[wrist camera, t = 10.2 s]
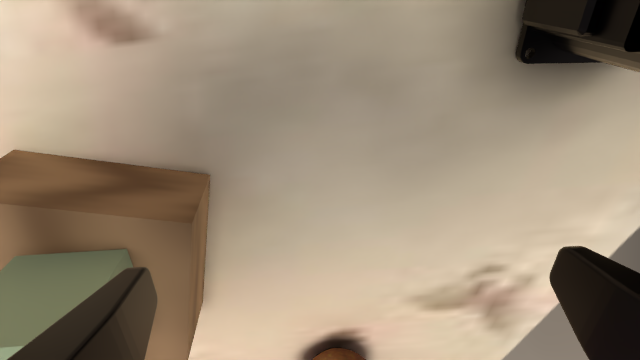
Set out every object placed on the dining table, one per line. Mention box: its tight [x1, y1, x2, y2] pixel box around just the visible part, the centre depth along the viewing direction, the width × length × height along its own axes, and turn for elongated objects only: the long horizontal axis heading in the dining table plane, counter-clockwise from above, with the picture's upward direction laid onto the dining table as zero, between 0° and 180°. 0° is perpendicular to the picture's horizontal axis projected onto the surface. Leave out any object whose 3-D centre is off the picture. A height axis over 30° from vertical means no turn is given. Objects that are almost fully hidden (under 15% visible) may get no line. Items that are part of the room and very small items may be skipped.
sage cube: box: [0, 249, 133, 360], centre depth 16 cm, size 5×5×5 cm
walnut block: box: [0, 150, 210, 360], centre depth 21 cm, size 10×10×5 cm
